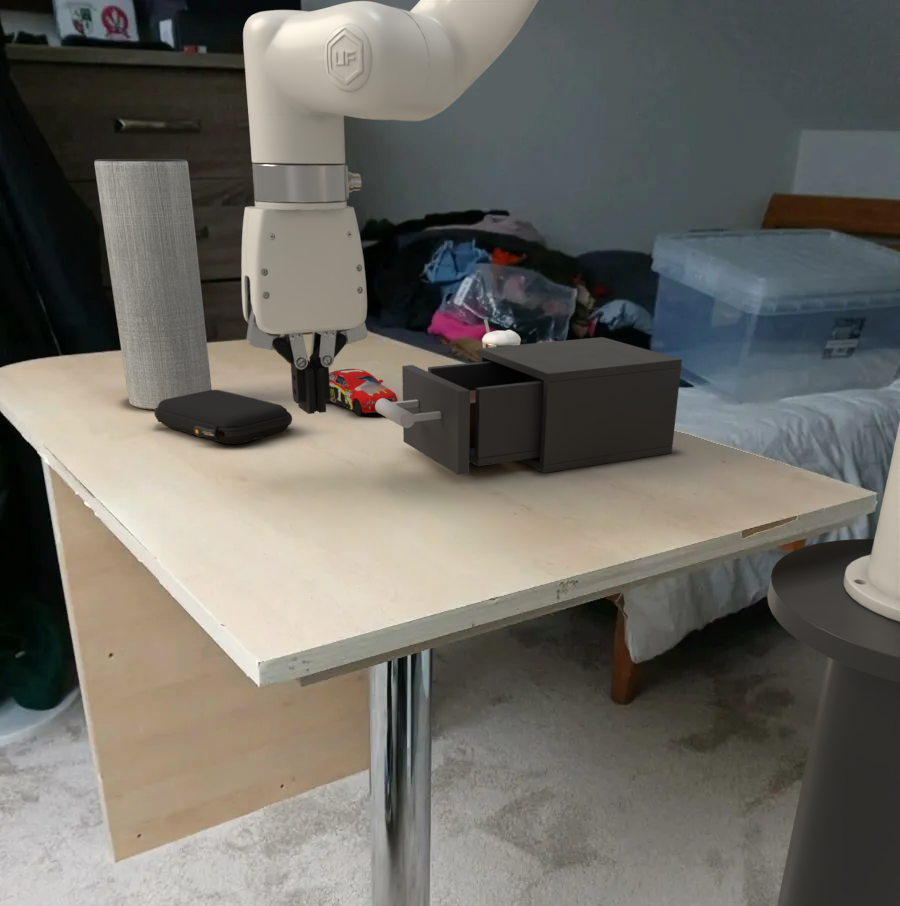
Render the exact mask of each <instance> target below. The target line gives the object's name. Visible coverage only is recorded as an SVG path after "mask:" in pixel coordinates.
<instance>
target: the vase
mask: <svg viewBox="0 0 900 906" xmlns="http://www.w3.org/2000/svg"><path fill="white" fill-rule="evenodd" d="M94 170H95V177H96V178H95V179H96V184H97V192H98V198H99V199H98V200H99V205H100V206H99V207H100V212H101V221H102V226H103V233H104V240H105V249H106V253H107V261H108V268H109V275H110V281H111V282H110V283H111V289H112V295H113V302H114V309H115V310H114V311H115V317H116V323H117V329H118V331H117V332H118V336H119V345H120V351H121V359H122V366H123V372H124V380H125V386H126V392H127V397H128V402H129V404H130V405H132V406H133V407H136V408H139V409H142V410H152V411H153V410H154V411H155V409H156V408H157V407H158V405H159V403H160V402H161V401H163V400H165V399H170V398H174V397H179V396H184V395H189V394H193V393H198V392H203V391H208V390H213V389H212V378H211V377H212V376H211V369H210V360H209V359H210V358H209V351H208V341H207V333H206V332H207V331H206V321H205V312H204V303H203V294H202V284H201V275H200V264H199V255H198V246H197V236H196V228H195V227H196V226H195V216H194V207H193V199H192V190H191V180H190V170H189V162H188V161H187V160H186V159H178V158H176V159H175V158H173V159H171V158H170V159H169V158H168V159H167V158H163V159H162V158H149V159H148V158H111V159H110V158H105V159H104V158H101V159H100V158H99V159H98V158H97V159H95V160H94Z"/></svg>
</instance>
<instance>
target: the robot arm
mask: <svg viewBox="0 0 900 906" xmlns="http://www.w3.org/2000/svg"><path fill="white" fill-rule="evenodd" d="M539 1H540V0H419V1H418V2H417V4H415V6H413V7H412V8H411V10H406V9H403V8H399V7H395V6H391V5H386V4H383V3H379V2H375V1H369V0H358V1H357V0H355V1H348V2H343V3H338V4H335V5H331V6H329V7H328V6H327V7H325V8H320V9H316V10H311V11H308V10H298V9H297V10H295V9H274V10H263V11H258V12H256V13H254V14H252V15H250V16H249V17H248V18H247V20H246V21H245V24H244V27H243V31H242V42H243V45H242V46H243V47H242V48H243V59H244V69H245V70H244V72H245V73H244V74H245V87H246V99H247V110H248V111H247V113H248V127H249V129H248V130H249V142H250V152H251V153H250V156H251V163H252V165H251V169H252V183H253V196H254V197H253V198H254V206H252V205H251V206H245V207H244V212H243V221H242V233H241V303H242V313H243V318H244V320H245V321H246V323H247V324H248V325H247V331H246V332H247V333H246V342H247V344H248V345H250V346H251V347H253V348H256V349H263V350H268V351H275V352H276V353H277V354H278V355H279V356H281V357H282V359H284V360H285V361H286V362H287V363H288V364H290V373H291V374H290V375H291V376H290V377H291V390H292V399H293V401H294V403H295V404H297V406H298V408H299V409H301V410H302V411H303V412H304V413H306V414H308V415H312V414H315V413H316V412H318V413H320V414H323V413H326V412H327V403H326V400H329V399H330V384H329V372H330V367H331V366H333V364H334V361H335V359H336V357H337V356H338V355H339V354H340V352H341V351H342V350H343V349H344V347H345V346H346V345H351V344H353V343H356V342H359V341H361V340H364V339H366V338H367V336H368V328H367V326H366V325H367V324H366V320H367V315H368V314H367V313H368V294H367V293H368V292H367V279H366V269H365V259H364V253H363V247H362V240H361V233H360V229H359V225H358V220H357V215H356V211H355V208H354V207H353V206H349V205H348V204H347V203H348V202H347V200H348V201H349V199H350V193H352V192H354V191H356V192H357V191H360V190H361V189H362V184H363V181H362V176H361V173H353V172H351V171H349V165H346V143H345V142H346V139H345V138H346V137H345V117H350V118H356V119H362V120H375V121H401V122H421V121H426V120H429V119H431V118H433V117H435V116H436V115H438V114H441V113H442V112H443V111H445V110H446V109H448V108H449V107H450V106H452V104H454V103H455V102H456V101H457V100H458V99H459V98H460V97H461V96H462V95H463V94H465V92H466V91H467V90H468V89H469V88H470V87H471V86H472V85H473V84H474V83H475V82H476V81H477V80H478V79H479V78H480V77H481V75H482V74H484V73H485V71H487V70H488V69H489V67H490V66H491V65H493V63H494V62H495V61H496V60H497V59H498V58H500V57H499V56H501V55H502V53H504V51H505V50H506V49H507V47H509V45H510V44H511V43H512V42H513V41H514V39H515V37H516V36H517V35H518V33H519V32H520V30H521V29H522V28H523V26H524V25H525V23H526V22H527V20H528V18H529V17H530V15H531V14H532V12H533V10H534V9H535V7H536V6H537V4H538V2H539ZM304 333H305V334H306V333H312V334H311V345H310V356H309V358H308V354H307V348H306V344H305V338H304ZM873 539H874V544H873V548H872V553H871V555H868V556H864V557H861V558H859V559H857V560H855V561H853V562H851V563H850V564H849V565H848V566H847V568H846V571H845V576H844V584H843V585H844V587H845V589H846V591H847V592H848V594H849V595H850V596H851V597H852V598H853V599H854V600H855V601H857V602H858V603H859V604H861V605H862V606H864V607H866V608H867V609H869V610H871V611H873V612H875V613H877V614H879V615H882V616H884V617H886V618H889V619H892V620H895V621H898V622H900V422H899V423H898V428H897V433H896V438H895V443H894V447H893V451H892V455H891V459H890V465H889V470H888V475H887V479H886V484H885V489H884V493H883V497H882V503H881V506H880V512H879V515H878V521H877V526H876V530H875V536H874V538H873Z"/></svg>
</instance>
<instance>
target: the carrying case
mask: <svg viewBox="0 0 900 906" xmlns="http://www.w3.org/2000/svg"><path fill="white" fill-rule="evenodd" d="M153 414H154V417H155V418H156V420H157V422H158V423H161V424H162V425H164V426H165V427H168V428H171V429H174V430H178V431H181V432H183V433H187V434H191V435H194V436H197V437H200V438H204V439H207V440H212V441H215V442H218V443H221V444H227V445H239V444H243V443H248V442H250V441H251V442H252V441H254V440H258V439H262V438H266V437H270V436H273V435H277V434H281V433H284V432H285V431H286V430H287V429H288V428H289V426H290V425H291V424H292V422H293V416H292V414H291V412H289V411H288V410H287V408H286V407H285V406H283V405H281V404H278V403H274V402H270V401H267V400H262V399H258V398H254V397H250V396H246V395H242V394H237V393H233V392H228V391H225V390H220V389H212V390H208V391H203V392H198V393H193V394H189V395H184V396H179V397H174V398H170V399H165V400H163V401H161V402H160V403H159V405H158V407H157V408H156V409H155V410H154V412H153Z"/></svg>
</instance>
